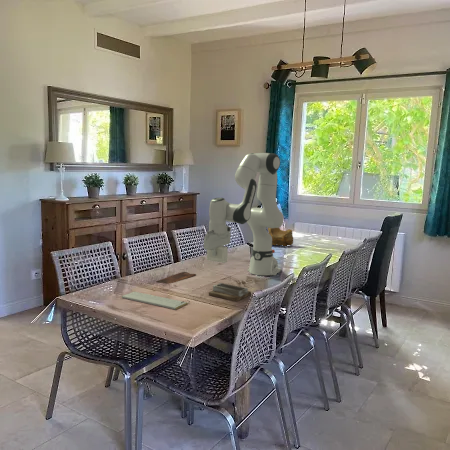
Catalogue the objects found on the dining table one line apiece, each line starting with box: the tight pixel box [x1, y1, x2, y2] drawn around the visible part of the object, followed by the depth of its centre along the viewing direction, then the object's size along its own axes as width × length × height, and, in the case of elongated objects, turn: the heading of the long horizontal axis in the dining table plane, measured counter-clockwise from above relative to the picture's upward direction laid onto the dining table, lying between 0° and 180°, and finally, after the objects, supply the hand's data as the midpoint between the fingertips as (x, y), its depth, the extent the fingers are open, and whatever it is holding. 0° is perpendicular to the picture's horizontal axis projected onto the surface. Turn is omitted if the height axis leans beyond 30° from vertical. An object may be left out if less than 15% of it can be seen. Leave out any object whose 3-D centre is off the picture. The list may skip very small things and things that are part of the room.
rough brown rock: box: [267, 227, 294, 246], centre depth 357 cm, size 23×17×15 cm
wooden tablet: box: [156, 271, 197, 285], centre depth 249 cm, size 26×2×10 cm
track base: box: [208, 282, 252, 302], centre depth 221 cm, size 14×16×4 cm
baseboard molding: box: [121, 291, 191, 311], centre depth 209 cm, size 31×3×12 cm
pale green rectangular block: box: [206, 245, 229, 264], centre depth 233 cm, size 3×11×8 cm, turn 57°
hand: (217, 255), depth 233 cm, fingers closed on pale green rectangular block, 3 cm apart
